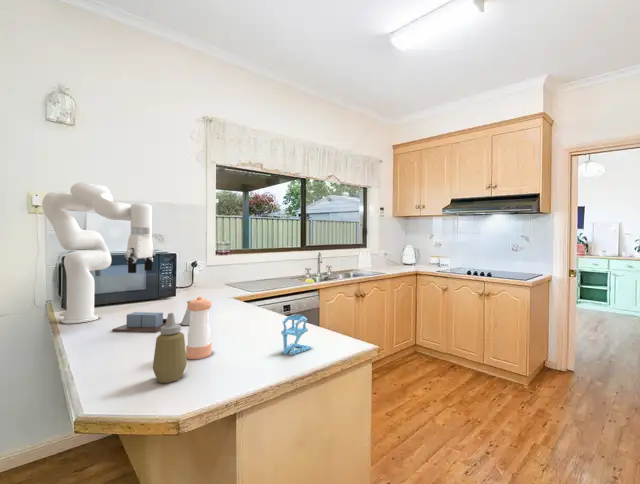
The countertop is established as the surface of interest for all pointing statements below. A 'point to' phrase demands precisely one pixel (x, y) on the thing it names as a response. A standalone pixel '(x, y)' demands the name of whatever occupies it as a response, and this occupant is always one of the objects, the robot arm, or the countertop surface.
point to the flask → (186, 316)
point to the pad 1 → (135, 319)
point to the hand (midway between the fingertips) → (140, 271)
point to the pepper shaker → (199, 329)
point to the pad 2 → (152, 319)
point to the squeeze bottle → (169, 352)
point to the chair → (294, 334)
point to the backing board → (139, 328)
